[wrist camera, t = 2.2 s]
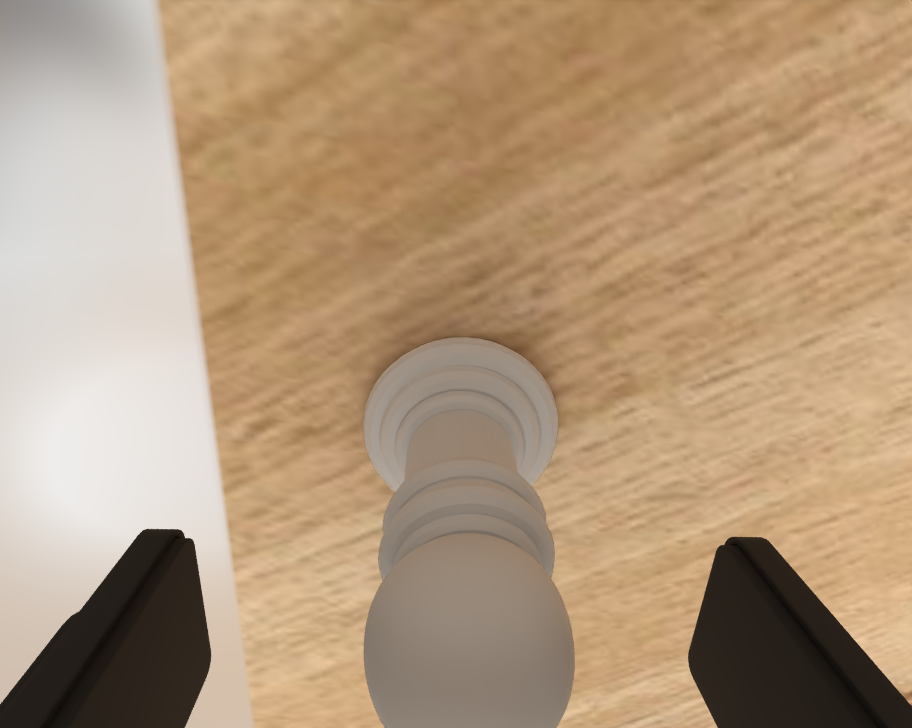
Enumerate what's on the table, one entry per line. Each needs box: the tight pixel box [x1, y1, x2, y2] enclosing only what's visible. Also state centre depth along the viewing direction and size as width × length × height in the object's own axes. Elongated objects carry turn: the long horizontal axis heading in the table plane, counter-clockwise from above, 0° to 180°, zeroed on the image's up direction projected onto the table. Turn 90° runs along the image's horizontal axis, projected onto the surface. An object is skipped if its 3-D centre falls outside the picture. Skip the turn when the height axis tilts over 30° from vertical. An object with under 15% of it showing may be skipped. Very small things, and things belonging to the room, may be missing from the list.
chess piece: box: [363, 337, 575, 728], centre depth 11 cm, size 5×5×9 cm
